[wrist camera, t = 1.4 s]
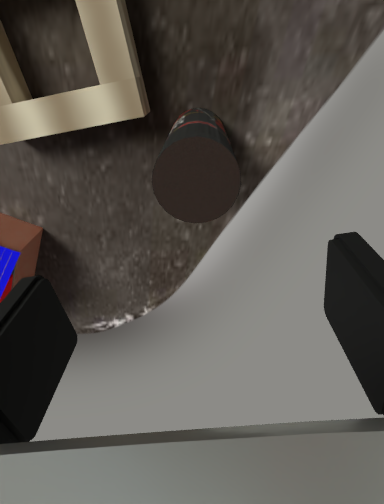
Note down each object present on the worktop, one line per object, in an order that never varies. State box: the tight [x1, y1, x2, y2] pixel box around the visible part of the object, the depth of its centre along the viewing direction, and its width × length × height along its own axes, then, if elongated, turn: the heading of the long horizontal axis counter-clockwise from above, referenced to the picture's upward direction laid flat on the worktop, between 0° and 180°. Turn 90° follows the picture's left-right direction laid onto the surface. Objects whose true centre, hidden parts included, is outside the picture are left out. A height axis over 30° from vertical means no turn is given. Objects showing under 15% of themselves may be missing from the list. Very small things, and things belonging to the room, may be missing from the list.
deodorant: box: [152, 108, 241, 223], centre depth 26 cm, size 6×6×15 cm
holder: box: [0, 0, 150, 145], centre depth 27 cm, size 15×15×4 cm
